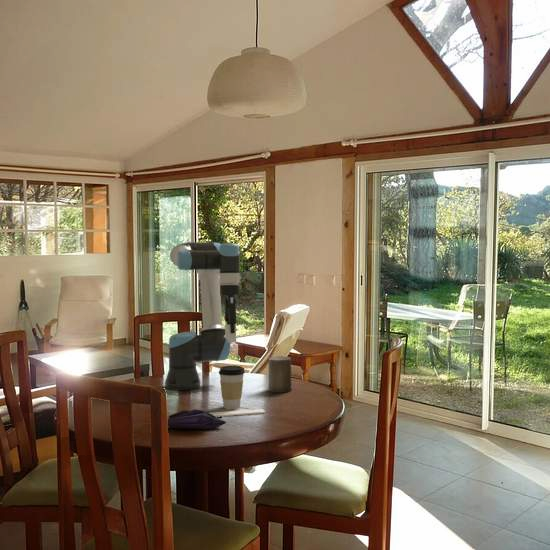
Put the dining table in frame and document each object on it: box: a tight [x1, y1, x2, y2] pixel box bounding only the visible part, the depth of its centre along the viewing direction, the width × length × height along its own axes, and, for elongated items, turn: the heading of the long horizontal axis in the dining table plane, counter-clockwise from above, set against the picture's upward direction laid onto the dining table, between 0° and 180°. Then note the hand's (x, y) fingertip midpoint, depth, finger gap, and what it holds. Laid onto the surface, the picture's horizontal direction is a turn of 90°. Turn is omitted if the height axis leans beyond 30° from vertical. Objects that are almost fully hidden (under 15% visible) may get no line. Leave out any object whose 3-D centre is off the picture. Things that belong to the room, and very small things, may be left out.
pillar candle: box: [268, 355, 292, 393], centre depth 261 cm, size 10×10×15 cm
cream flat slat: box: [209, 408, 266, 418], centre depth 223 cm, size 4×24×1 cm, turn 105°
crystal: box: [167, 408, 226, 430], centre depth 207 cm, size 7×12×20 cm
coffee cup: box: [218, 365, 245, 410], centre depth 233 cm, size 10×10×15 cm
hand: (230, 340), depth 234 cm, fingers open, 13 cm apart
